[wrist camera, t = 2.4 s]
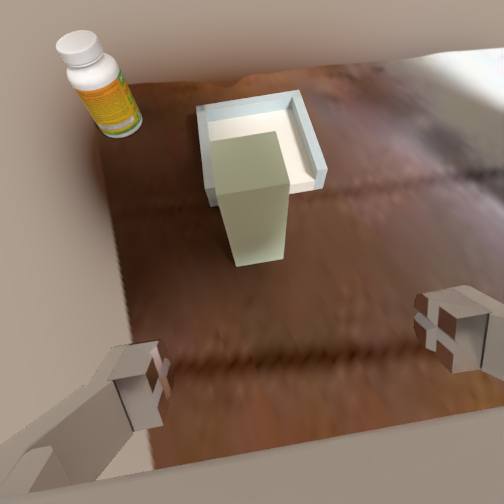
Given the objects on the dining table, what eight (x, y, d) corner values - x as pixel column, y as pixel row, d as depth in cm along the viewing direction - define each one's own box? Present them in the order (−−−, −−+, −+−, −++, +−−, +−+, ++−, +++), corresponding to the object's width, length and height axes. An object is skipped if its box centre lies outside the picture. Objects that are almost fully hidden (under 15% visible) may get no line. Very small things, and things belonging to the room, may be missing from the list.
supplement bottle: (150, 126, 36) (111, 42, 27) (111, 146, 35) (57, 64, 26) (133, 104, 38) (92, 19, 29) (95, 122, 37) (41, 39, 28)
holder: (296, 112, 35) (299, 89, 33) (322, 188, 30) (327, 168, 27) (201, 128, 35) (195, 106, 33) (210, 207, 30) (204, 189, 27)
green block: (274, 219, 29) (275, 130, 19) (283, 258, 27) (290, 183, 17) (230, 226, 29) (209, 141, 19) (236, 266, 27) (216, 195, 17)
